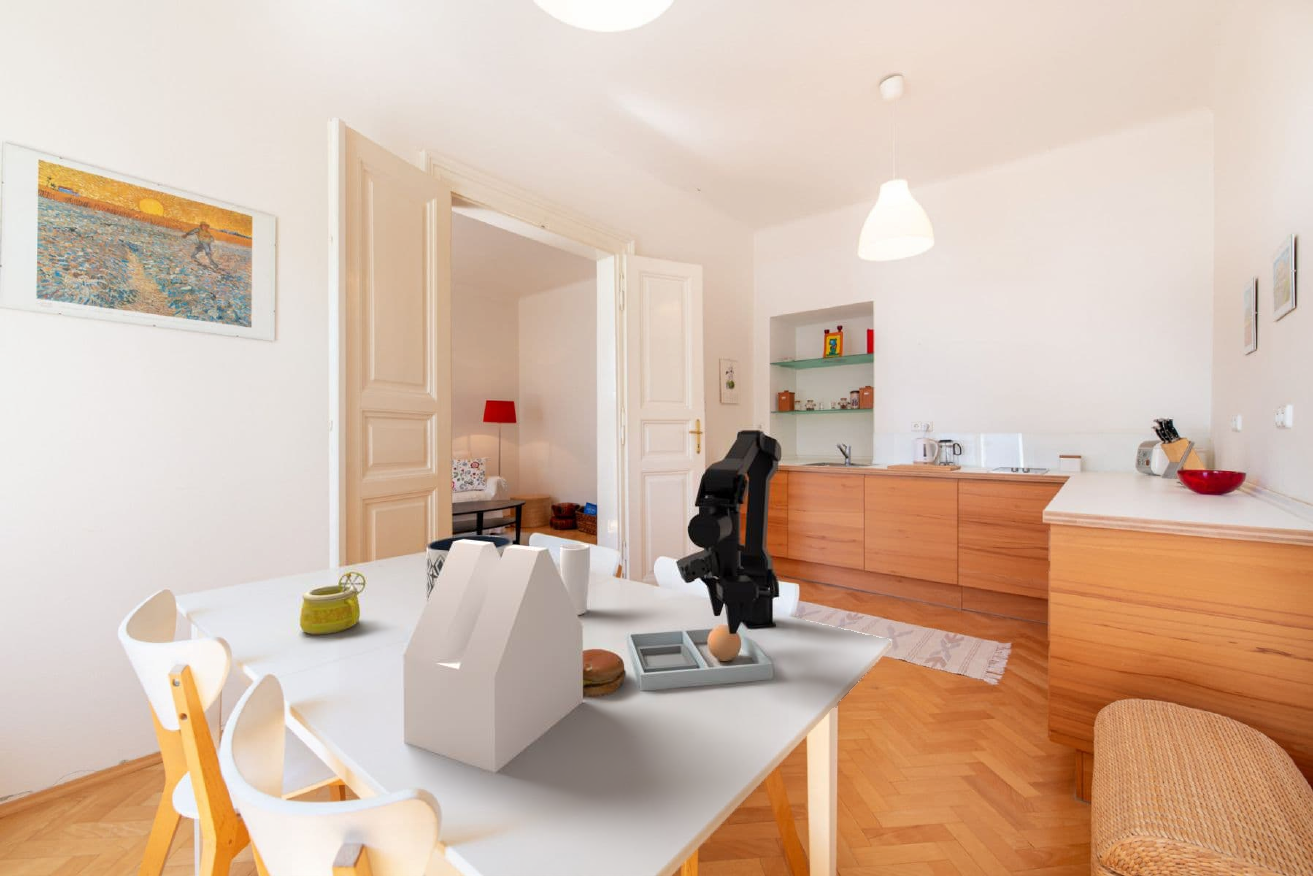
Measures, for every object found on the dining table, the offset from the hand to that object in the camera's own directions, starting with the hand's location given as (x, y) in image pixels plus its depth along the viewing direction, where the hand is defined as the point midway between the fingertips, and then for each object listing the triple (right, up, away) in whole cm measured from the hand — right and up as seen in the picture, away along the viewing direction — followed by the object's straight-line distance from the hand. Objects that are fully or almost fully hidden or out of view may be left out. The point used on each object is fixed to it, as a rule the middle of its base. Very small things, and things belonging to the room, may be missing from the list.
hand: (724, 624), depth 97 cm
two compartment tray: (-5, -6, -1) cm, 8 cm away
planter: (-54, -7, +24) cm, 59 cm away
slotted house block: (-34, -7, -21) cm, 41 cm away
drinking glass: (-31, -6, +26) cm, 41 cm away
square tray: (-11, -6, -2) cm, 13 cm away
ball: (0, -6, 0) cm, 6 cm away
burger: (-22, -7, -9) cm, 25 cm away
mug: (-80, -7, +16) cm, 82 cm away
